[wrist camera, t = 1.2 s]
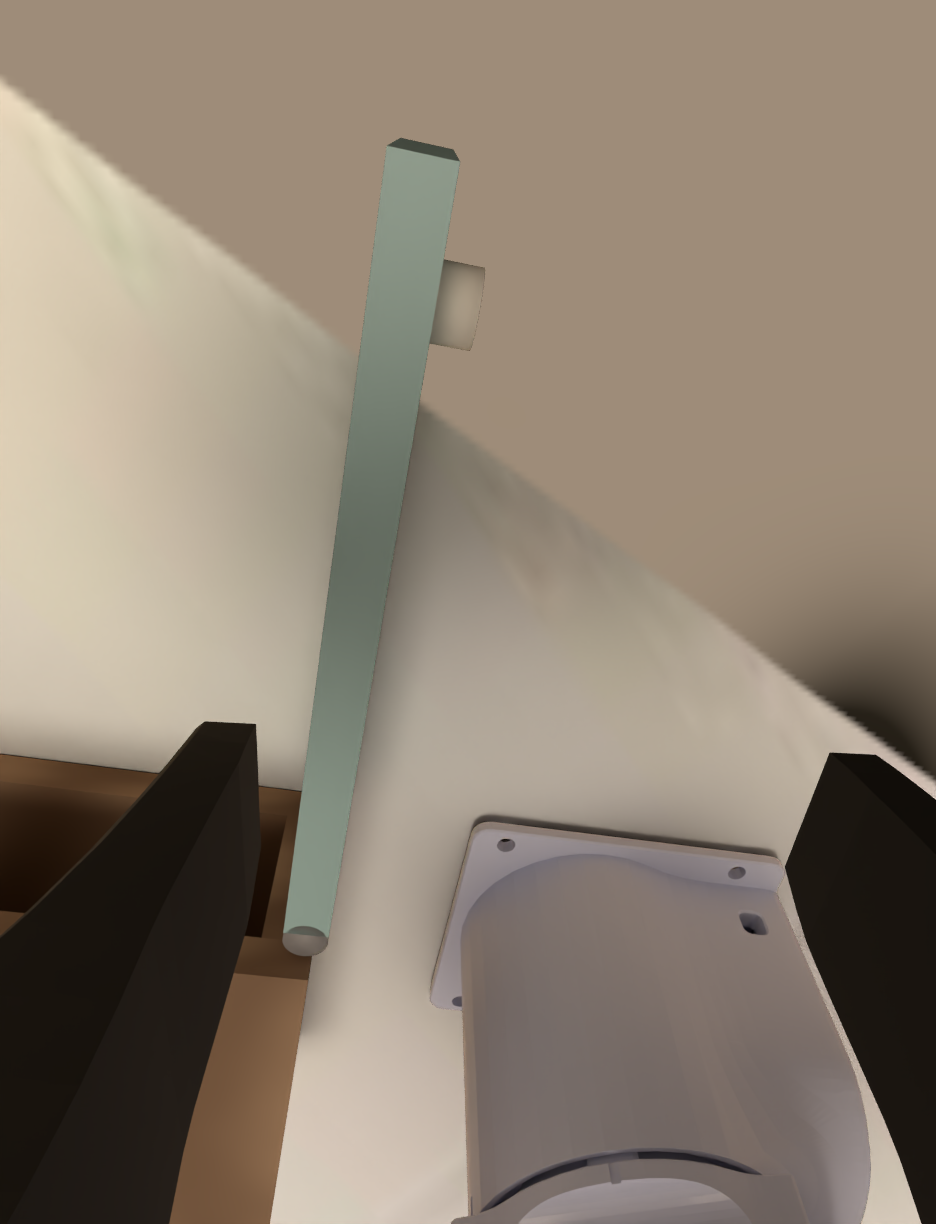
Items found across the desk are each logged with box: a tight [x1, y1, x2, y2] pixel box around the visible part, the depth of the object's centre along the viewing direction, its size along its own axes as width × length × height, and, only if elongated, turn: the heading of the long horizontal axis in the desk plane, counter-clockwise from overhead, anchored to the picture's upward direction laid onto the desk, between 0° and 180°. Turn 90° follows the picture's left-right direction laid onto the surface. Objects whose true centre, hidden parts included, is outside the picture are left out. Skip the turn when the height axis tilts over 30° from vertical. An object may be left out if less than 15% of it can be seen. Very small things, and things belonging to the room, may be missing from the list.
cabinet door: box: [282, 138, 485, 956], centre depth 18 cm, size 16×2×5 cm, turn 169°
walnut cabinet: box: [0, 754, 312, 1224], centre depth 23 cm, size 16×11×6 cm
